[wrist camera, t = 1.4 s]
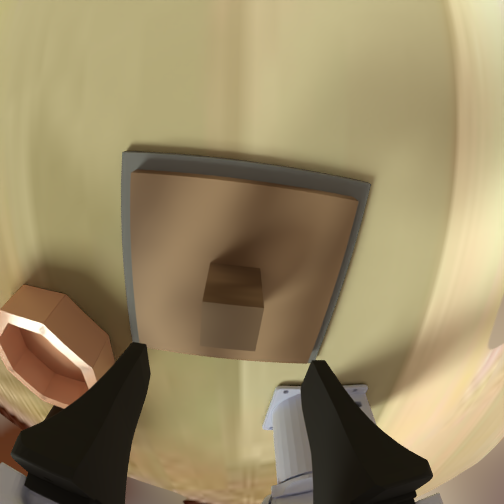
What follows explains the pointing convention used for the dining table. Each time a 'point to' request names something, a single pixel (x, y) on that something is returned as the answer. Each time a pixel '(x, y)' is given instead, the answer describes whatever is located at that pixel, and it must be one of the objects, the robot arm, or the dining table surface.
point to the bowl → (52, 345)
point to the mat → (240, 171)
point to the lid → (234, 264)
